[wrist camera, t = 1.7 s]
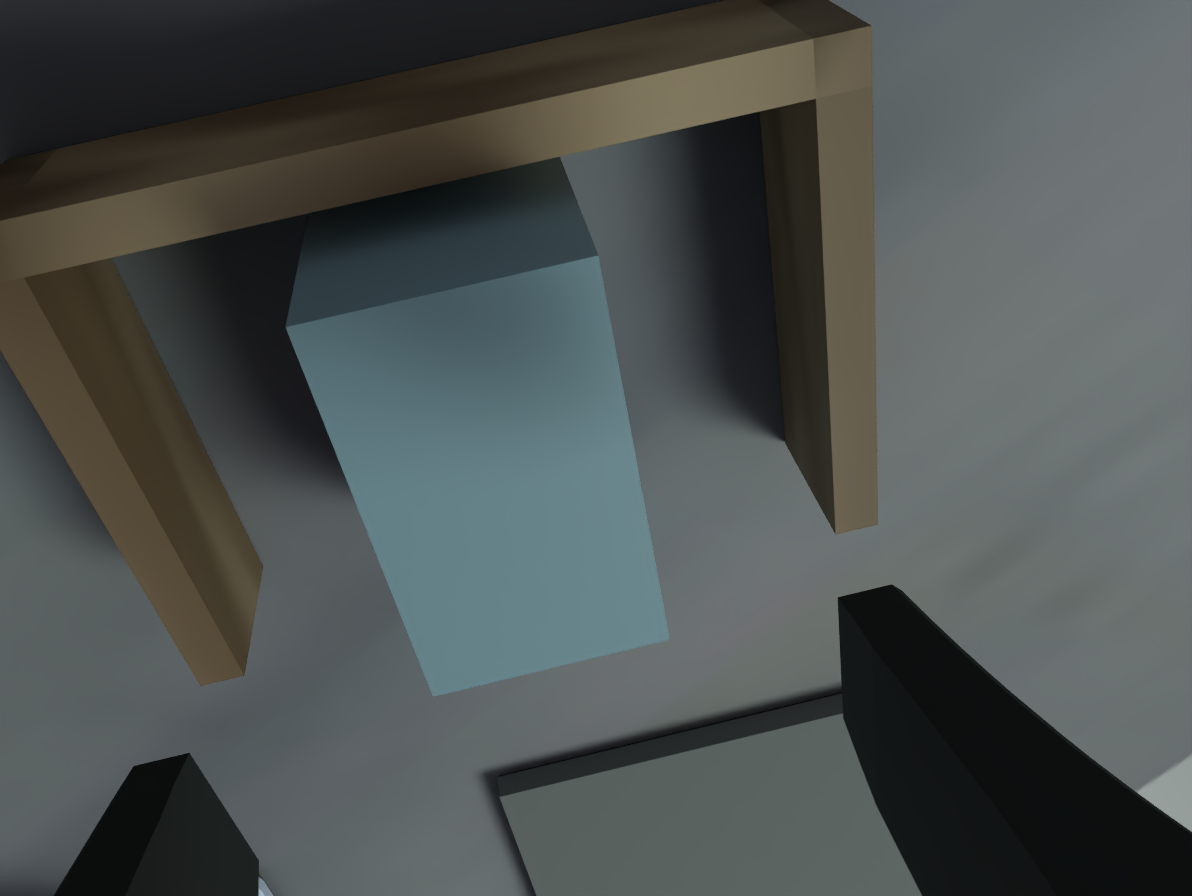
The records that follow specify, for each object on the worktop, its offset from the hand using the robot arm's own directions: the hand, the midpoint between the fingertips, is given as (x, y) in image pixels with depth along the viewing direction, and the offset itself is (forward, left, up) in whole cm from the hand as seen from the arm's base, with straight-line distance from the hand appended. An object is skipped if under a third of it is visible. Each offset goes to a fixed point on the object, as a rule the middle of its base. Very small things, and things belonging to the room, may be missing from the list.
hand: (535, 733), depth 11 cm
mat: (+3, -17, -9) cm, 19 cm away
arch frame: (0, 0, -9) cm, 9 cm away
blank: (0, 0, -9) cm, 9 cm away
